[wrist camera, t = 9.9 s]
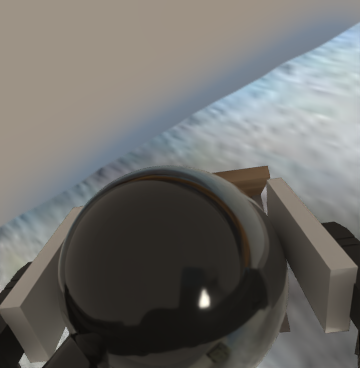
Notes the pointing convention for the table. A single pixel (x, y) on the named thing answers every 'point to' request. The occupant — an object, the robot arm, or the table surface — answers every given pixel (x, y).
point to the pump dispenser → (170, 275)
